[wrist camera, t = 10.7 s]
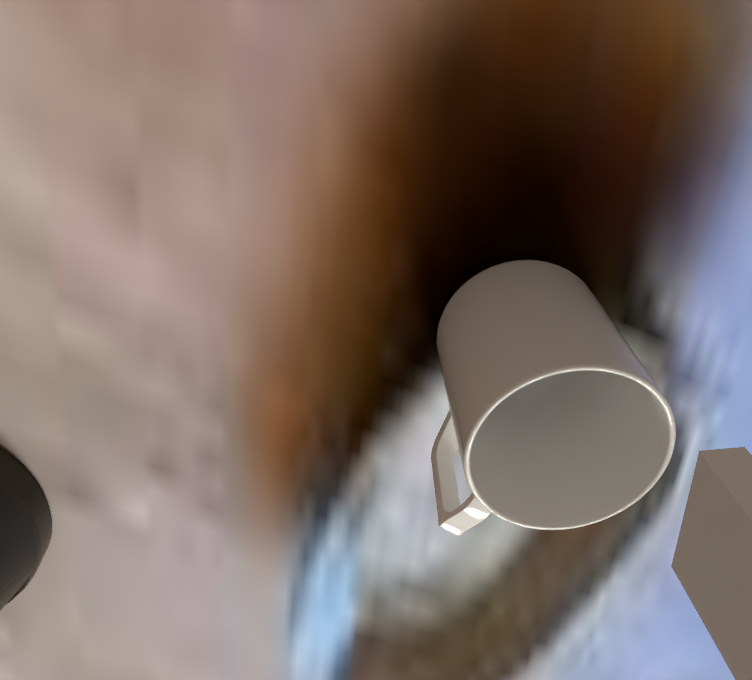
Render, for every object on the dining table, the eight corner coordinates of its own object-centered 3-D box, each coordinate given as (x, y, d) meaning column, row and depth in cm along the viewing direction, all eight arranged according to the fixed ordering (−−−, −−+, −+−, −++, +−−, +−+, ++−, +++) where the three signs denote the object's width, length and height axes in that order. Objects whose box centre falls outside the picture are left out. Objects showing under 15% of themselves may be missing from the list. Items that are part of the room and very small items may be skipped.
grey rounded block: (508, 218, 35) (570, 325, 25) (626, 307, 38) (721, 434, 28) (368, 377, 40) (375, 520, 30) (482, 446, 43) (523, 595, 33)
